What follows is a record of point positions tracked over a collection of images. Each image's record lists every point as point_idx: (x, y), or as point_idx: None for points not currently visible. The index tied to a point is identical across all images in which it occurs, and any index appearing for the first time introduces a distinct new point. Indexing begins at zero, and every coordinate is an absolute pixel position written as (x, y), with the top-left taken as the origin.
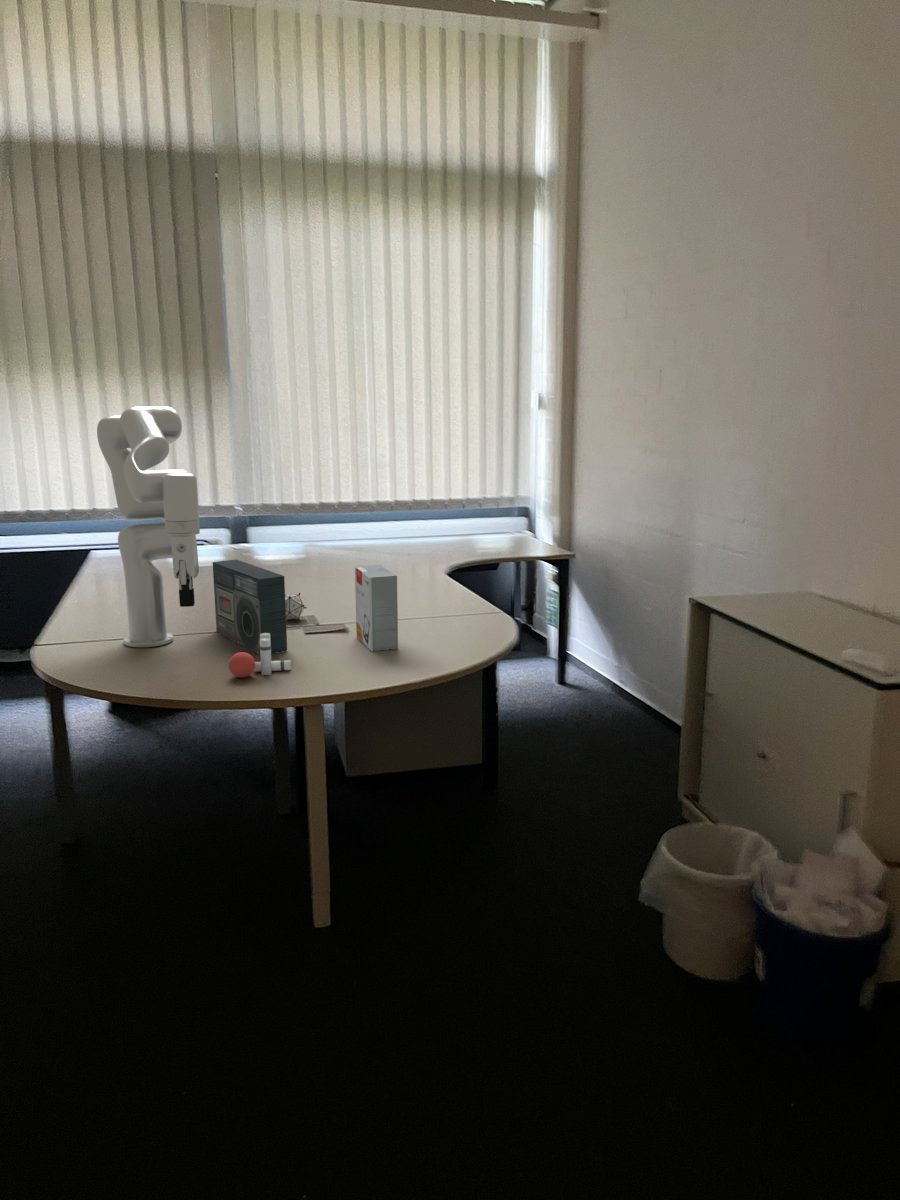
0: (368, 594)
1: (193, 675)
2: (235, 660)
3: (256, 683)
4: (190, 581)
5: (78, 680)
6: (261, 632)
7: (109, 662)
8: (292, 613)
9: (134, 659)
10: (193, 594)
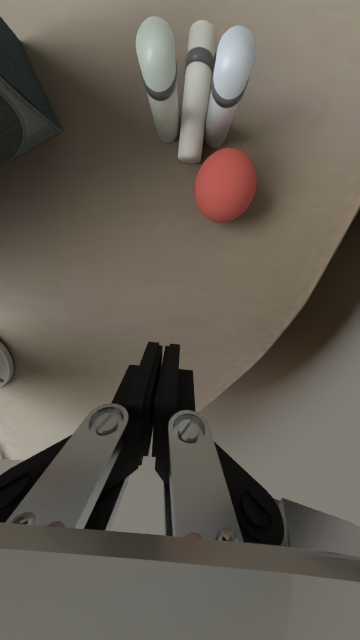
0: None
1: (179, 290)
2: (247, 201)
3: (272, 165)
4: (231, 501)
5: None
6: (12, 84)
7: (87, 398)
8: None
9: (75, 372)
10: (176, 377)
